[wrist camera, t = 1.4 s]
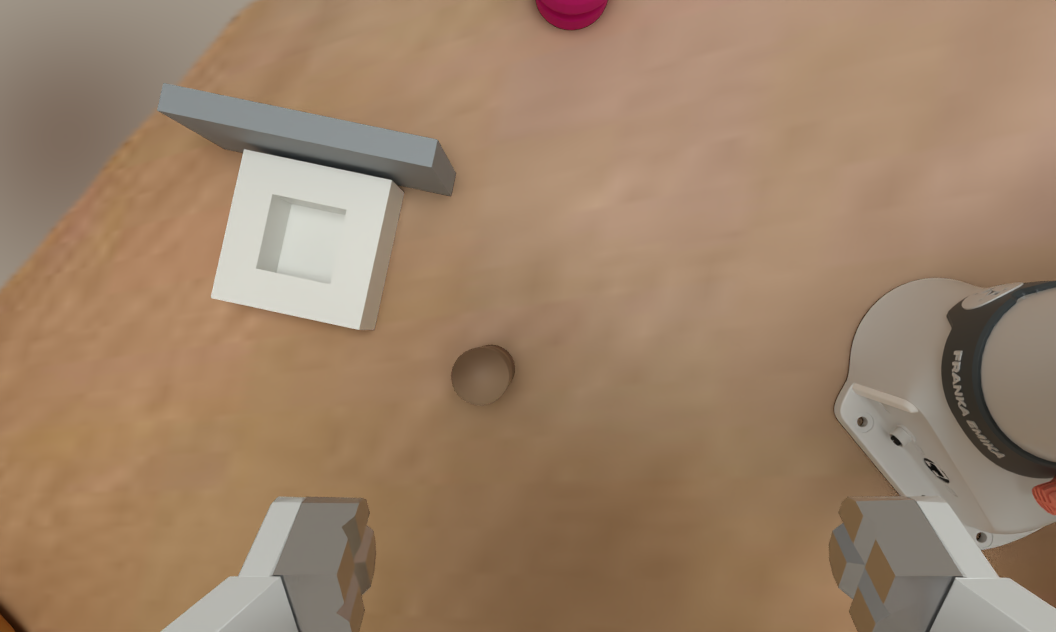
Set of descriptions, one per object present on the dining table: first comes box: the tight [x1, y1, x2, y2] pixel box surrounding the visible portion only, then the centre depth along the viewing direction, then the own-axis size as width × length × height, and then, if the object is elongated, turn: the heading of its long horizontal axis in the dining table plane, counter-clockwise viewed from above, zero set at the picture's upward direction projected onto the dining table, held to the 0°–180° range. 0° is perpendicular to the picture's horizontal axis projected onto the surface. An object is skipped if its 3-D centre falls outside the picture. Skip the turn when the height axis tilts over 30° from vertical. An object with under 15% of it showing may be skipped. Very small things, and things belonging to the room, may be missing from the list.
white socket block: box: [211, 149, 404, 330], centre depth 55 cm, size 12×12×5 cm
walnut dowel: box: [451, 345, 515, 405], centre depth 51 cm, size 4×4×10 cm
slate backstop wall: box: [157, 83, 456, 196], centre depth 52 cm, size 2×20×10 cm, turn 78°
